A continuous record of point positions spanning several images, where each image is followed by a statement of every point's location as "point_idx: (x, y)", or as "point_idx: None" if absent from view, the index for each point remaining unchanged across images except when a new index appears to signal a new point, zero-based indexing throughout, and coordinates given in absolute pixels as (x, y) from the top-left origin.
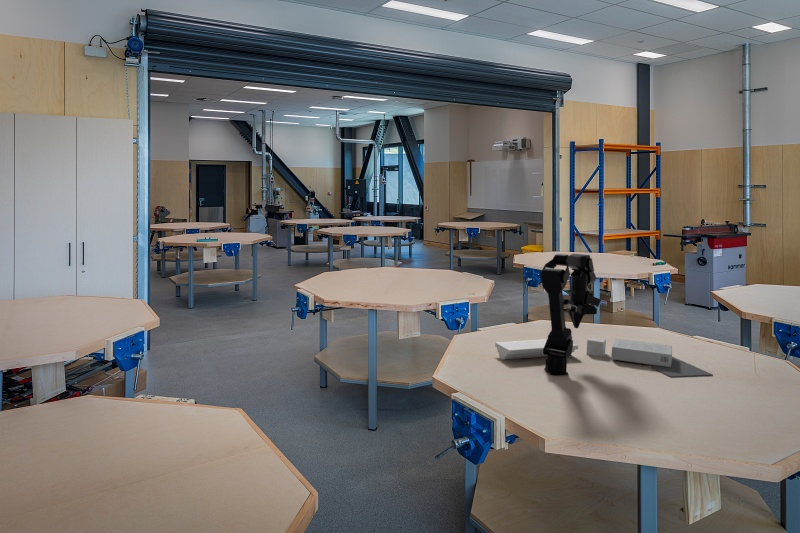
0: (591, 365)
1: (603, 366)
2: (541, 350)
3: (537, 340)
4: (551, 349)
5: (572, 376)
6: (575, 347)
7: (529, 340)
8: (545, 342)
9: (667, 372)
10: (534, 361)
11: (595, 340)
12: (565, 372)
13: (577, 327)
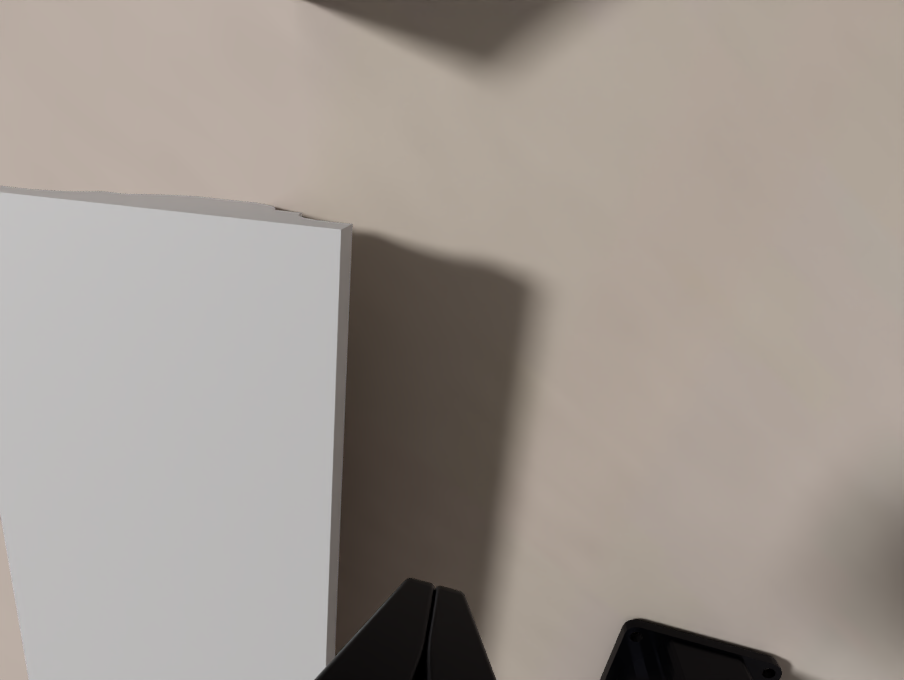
0: (663, 270)
1: (756, 165)
2: None
3: (35, 544)
4: (334, 575)
5: (823, 654)
6: (345, 267)
7: (28, 615)
8: (127, 521)
9: None
10: None
11: None
12: (753, 675)
13: (462, 623)
